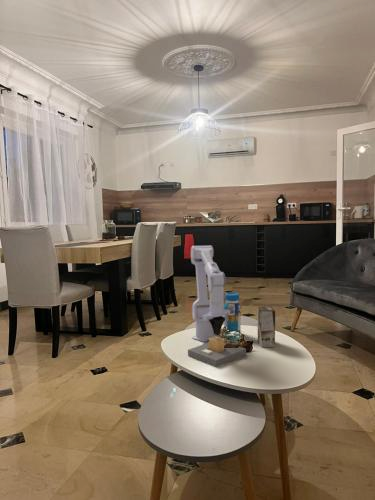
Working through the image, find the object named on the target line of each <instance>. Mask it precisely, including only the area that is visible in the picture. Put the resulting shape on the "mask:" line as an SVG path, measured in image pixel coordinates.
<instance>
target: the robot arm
mask: <svg viewBox="0 0 375 500" xmlns="http://www.w3.org/2000/svg"><path fill="white" fill-rule="evenodd" d="M213 257H214V247H213V245H192V246H191V247H190V261H191V264H192V265H194V266H195V276H196V277H195V278H196V291H197V292H196V294H197V298H196V300H195V301H193V303H192V306H191V315H192V319H193V320H194V321H195V336H192V337H191V339H193V340H197V341H200V342H202V343H204V342H207V341H208V342H209V338H212V337H215V335H216V336H220V335H221V330H222V327H223V326H224V321H225V317H224V316H225V315H230V310H228V309H225V310H224V305H225V304H224V302H225V301H224V300H225V297H224V296H225V294H224V292H225V291H224V290H225V289H224V287H225V286H226V281H227V279H226V275H225V273H224V271H221V270H220V268H219V266H218V264H217V262H215V261H214V260H213ZM207 285H208V286H207ZM208 292H209V299H208ZM214 334H215V335H214Z"/></svg>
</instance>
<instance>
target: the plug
mask: <svg viewBox="0 0 375 500" xmlns="http://www.w3.org/2000/svg"><path fill="white" fill-rule="evenodd" d="M224 342H225V338H222V337H220V336H218V335H216V336H215V337H212V338H209V340H208V343H209V350H211V351H214V352H217V353H220V352H222V351H224Z"/></svg>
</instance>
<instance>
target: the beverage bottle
mask: <svg viewBox="0 0 375 500" xmlns="http://www.w3.org/2000/svg"><path fill="white" fill-rule="evenodd" d="M224 296H225V297H224V300H225V301H226V302H225V304H224V310H225V309H228V310H230V315H225V316H223V317H225V321H224V323H223V328H224V327H225V326H226V327H227V330H229V331H236V332H239V333H240V334H241V331H242V330H241V325H242V322H241V321H242V319H241V315H242V311H241V308H242V307H241V304H240V302H239V301H240V294H239V293H238V292H226V293H225V294H224Z"/></svg>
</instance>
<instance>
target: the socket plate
mask: <svg viewBox="0 0 375 500" xmlns="http://www.w3.org/2000/svg"><path fill="white" fill-rule="evenodd" d="M246 355H247V348H245V347H242V346H239V347H238V348H224V351H222V352H220V353H217V352H214V351H211V350H209V342H207V343H204V344H201V345H198V346H195V347H191V348H188V349H187V356H188V357H191V358H193V359H195V360H198V361H200V362H203V363H205V364H209V365H211V366H213V367H216V368H217V367H220V366H222V365H225V364H227V363H229V362H231V361H234V360H236V359H239V358H241V357H244V356H246Z"/></svg>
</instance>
